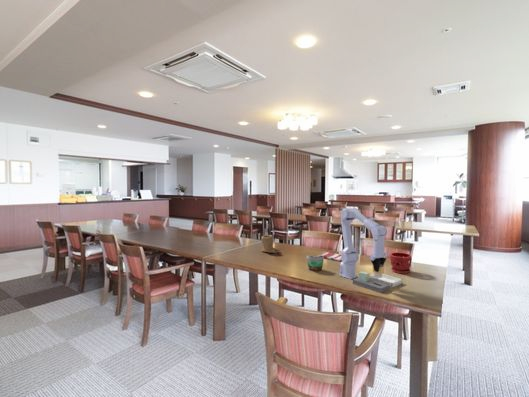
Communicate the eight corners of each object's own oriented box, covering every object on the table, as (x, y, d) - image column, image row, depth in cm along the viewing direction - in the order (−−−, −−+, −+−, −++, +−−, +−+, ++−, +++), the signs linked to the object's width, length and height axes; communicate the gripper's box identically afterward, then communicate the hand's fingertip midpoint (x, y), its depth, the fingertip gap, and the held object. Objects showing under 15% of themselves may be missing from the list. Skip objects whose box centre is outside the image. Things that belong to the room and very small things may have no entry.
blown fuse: (372, 275, 162) (372, 264, 161) (375, 274, 164) (375, 263, 163) (380, 278, 158) (381, 266, 157) (383, 277, 160) (384, 265, 159)
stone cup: (258, 252, 245) (258, 235, 244) (266, 249, 254) (266, 233, 254) (272, 255, 236) (272, 237, 235) (280, 252, 246) (280, 235, 245)
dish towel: (344, 263, 214) (344, 259, 214) (317, 257, 229) (317, 254, 229) (353, 258, 227) (353, 255, 227) (327, 254, 242) (327, 250, 242)
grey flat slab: (352, 283, 169) (352, 279, 169) (361, 280, 175) (361, 276, 174) (380, 293, 155) (380, 288, 155) (389, 289, 160) (389, 284, 160)
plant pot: (392, 267, 201) (393, 251, 201) (413, 271, 193) (413, 254, 192) (387, 272, 191) (387, 254, 191) (408, 276, 183) (409, 258, 182)
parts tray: (367, 280, 175) (368, 276, 175) (378, 276, 182) (378, 272, 182) (392, 287, 163) (392, 283, 163) (402, 283, 170) (402, 279, 170)
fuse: (358, 283, 169) (358, 272, 169) (361, 282, 171) (361, 271, 171) (366, 285, 165) (366, 274, 165) (368, 284, 167) (369, 273, 167)
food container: (306, 271, 192) (306, 257, 192) (306, 268, 198) (306, 254, 198) (324, 272, 191) (324, 257, 190) (324, 269, 197) (324, 255, 196)
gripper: (378, 250, 152) (377, 275, 153) (392, 246, 161) (391, 270, 162) (366, 248, 158) (366, 271, 159) (380, 244, 167) (380, 267, 167)
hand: (378, 270), depth 161 cm, fingers closed on blown fuse, 3 cm apart
